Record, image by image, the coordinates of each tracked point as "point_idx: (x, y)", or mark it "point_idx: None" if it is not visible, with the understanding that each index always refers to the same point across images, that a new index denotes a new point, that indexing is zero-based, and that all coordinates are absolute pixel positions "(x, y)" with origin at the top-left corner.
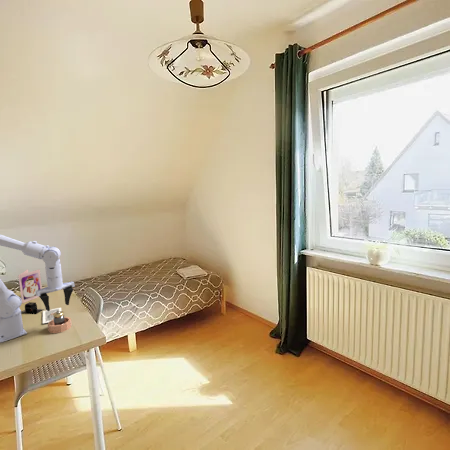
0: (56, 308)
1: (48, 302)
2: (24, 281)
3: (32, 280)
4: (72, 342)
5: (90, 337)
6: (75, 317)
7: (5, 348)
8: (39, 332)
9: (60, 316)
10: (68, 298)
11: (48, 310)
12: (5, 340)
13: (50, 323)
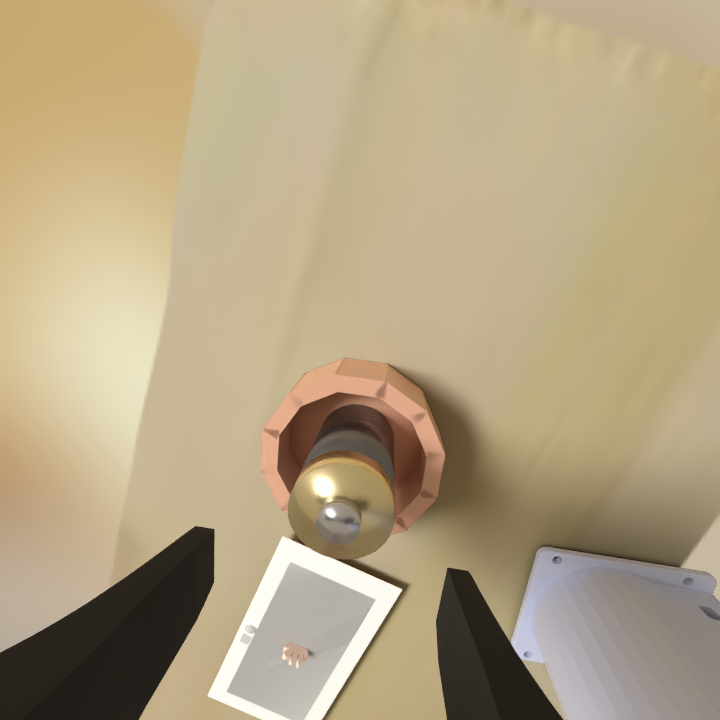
0: (234, 706)
1: (501, 707)
2: None
3: None
4: (430, 98)
5: (289, 43)
6: (206, 497)
7: None
8: (477, 497)
9: (349, 454)
10: (123, 600)
11: (467, 573)
12: (681, 570)
13: (407, 501)
